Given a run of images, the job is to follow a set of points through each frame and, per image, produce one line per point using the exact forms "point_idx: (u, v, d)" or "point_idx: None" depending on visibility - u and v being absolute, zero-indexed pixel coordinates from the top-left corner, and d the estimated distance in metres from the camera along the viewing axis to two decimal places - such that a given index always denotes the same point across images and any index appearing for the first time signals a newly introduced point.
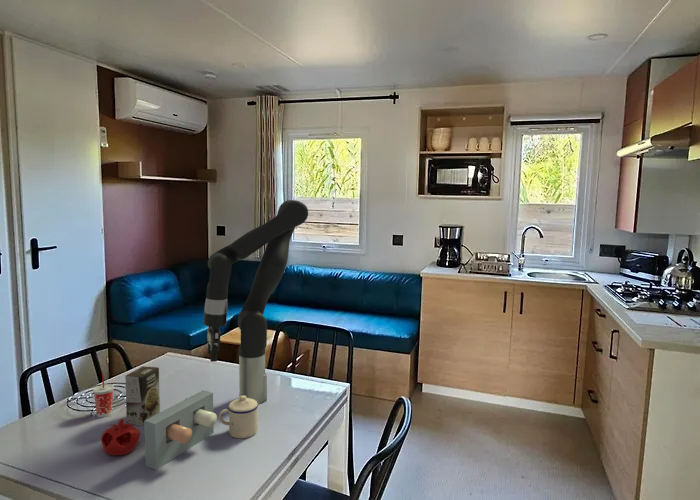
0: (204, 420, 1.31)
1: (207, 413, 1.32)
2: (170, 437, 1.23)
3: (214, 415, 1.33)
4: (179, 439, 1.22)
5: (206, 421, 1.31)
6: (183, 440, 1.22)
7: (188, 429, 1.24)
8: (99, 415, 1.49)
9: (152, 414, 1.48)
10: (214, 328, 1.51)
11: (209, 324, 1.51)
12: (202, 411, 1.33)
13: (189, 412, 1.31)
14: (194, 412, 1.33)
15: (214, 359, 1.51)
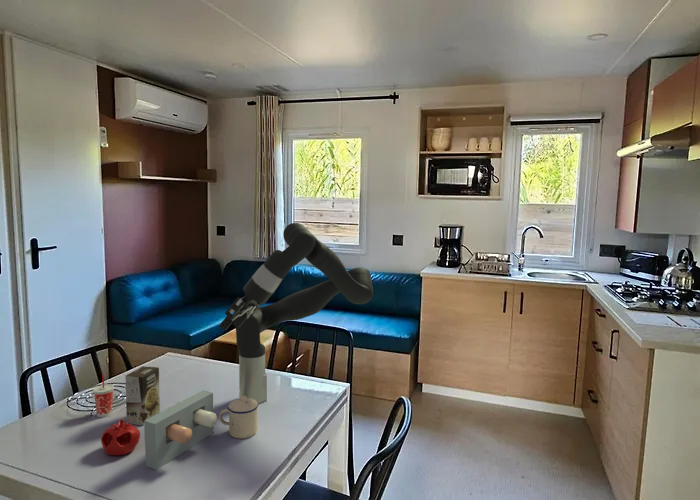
0: (204, 420, 1.31)
1: (207, 413, 1.32)
2: (170, 437, 1.23)
3: (214, 415, 1.33)
4: (179, 439, 1.22)
5: (206, 421, 1.31)
6: (183, 440, 1.22)
7: (188, 429, 1.24)
8: (99, 415, 1.49)
9: (152, 414, 1.48)
10: (246, 296, 1.25)
11: (245, 289, 1.26)
12: (202, 411, 1.33)
13: (189, 412, 1.31)
14: (194, 412, 1.33)
15: (222, 326, 1.24)
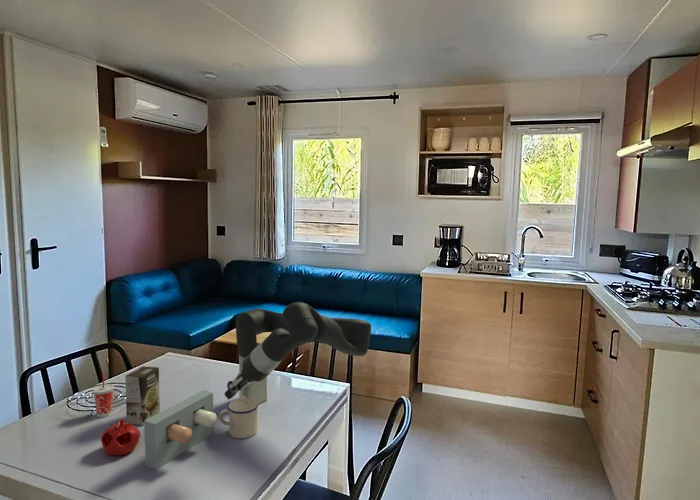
0: (204, 420, 1.31)
1: (207, 413, 1.32)
2: (170, 437, 1.23)
3: (214, 415, 1.33)
4: (179, 439, 1.22)
5: (206, 421, 1.31)
6: (183, 440, 1.22)
7: (188, 429, 1.24)
8: (99, 415, 1.49)
9: (152, 414, 1.48)
10: (242, 374, 1.18)
11: (243, 366, 1.19)
12: (202, 411, 1.33)
13: (189, 412, 1.31)
14: (194, 412, 1.33)
15: (226, 396, 1.25)
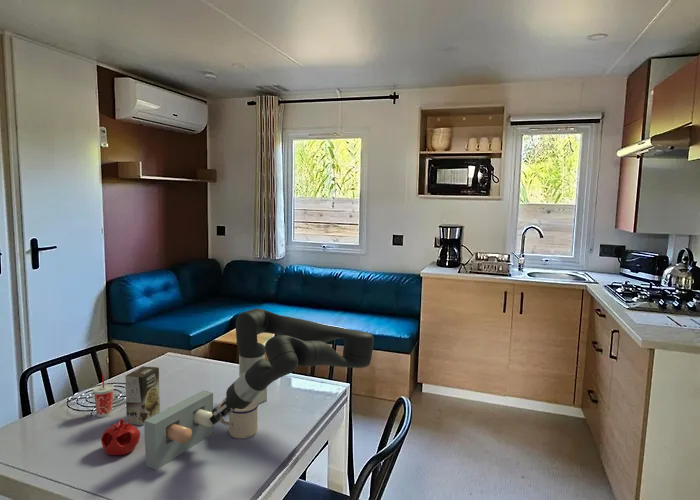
0: (204, 420, 1.31)
1: (207, 413, 1.32)
2: (170, 437, 1.23)
3: None
4: (179, 439, 1.22)
5: (206, 421, 1.31)
6: (183, 440, 1.22)
7: (188, 429, 1.24)
8: (99, 415, 1.49)
9: (152, 414, 1.48)
10: (226, 402, 1.24)
11: (227, 394, 1.25)
12: (202, 411, 1.33)
13: (189, 412, 1.31)
14: (194, 412, 1.33)
15: (211, 421, 1.30)
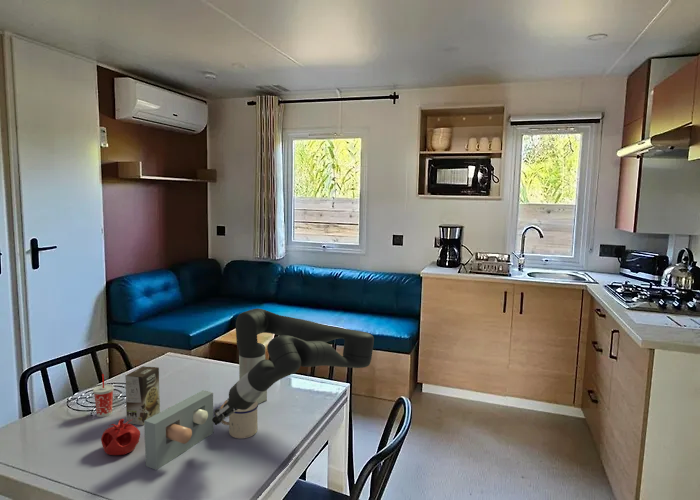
0: (195, 418, 1.32)
1: (198, 410, 1.34)
2: (170, 437, 1.23)
3: (205, 412, 1.34)
4: (179, 439, 1.22)
5: (197, 418, 1.32)
6: (183, 440, 1.22)
7: (188, 429, 1.24)
8: (99, 415, 1.49)
9: (152, 414, 1.48)
10: (229, 402, 1.24)
11: (229, 394, 1.24)
12: None
13: (189, 412, 1.31)
14: None
15: (214, 422, 1.30)
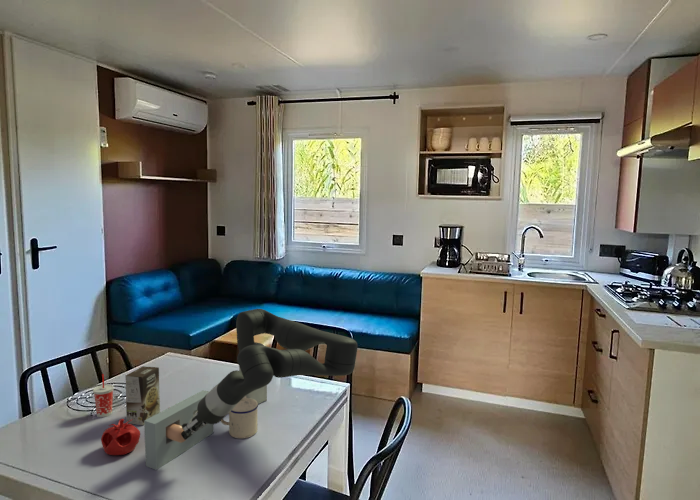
0: None
1: None
2: (167, 436, 1.24)
3: None
4: (176, 438, 1.22)
5: None
6: (180, 439, 1.23)
7: None
8: (99, 415, 1.49)
9: (152, 414, 1.48)
10: (197, 416, 1.16)
11: (198, 408, 1.16)
12: None
13: (189, 412, 1.31)
14: None
15: (182, 436, 1.22)
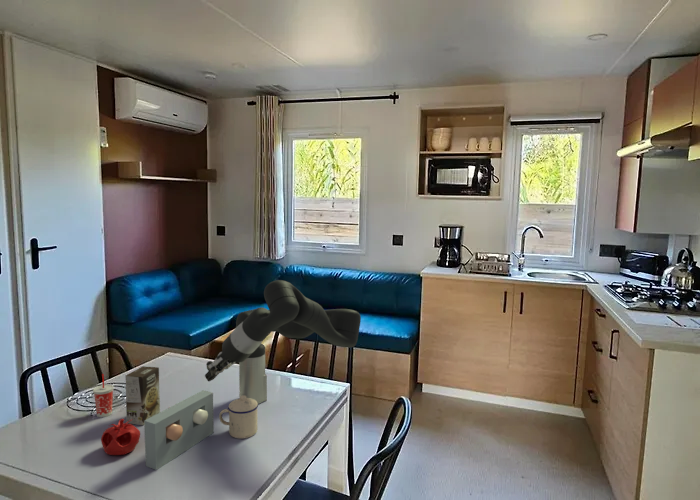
0: (195, 418, 1.32)
1: (198, 410, 1.34)
2: None
3: (205, 412, 1.34)
4: (170, 436, 1.23)
5: (197, 418, 1.32)
6: (174, 437, 1.24)
7: (179, 426, 1.25)
8: (99, 415, 1.49)
9: (152, 414, 1.48)
10: (222, 354, 1.15)
11: (223, 346, 1.15)
12: None
13: (189, 412, 1.31)
14: None
15: (206, 378, 1.21)
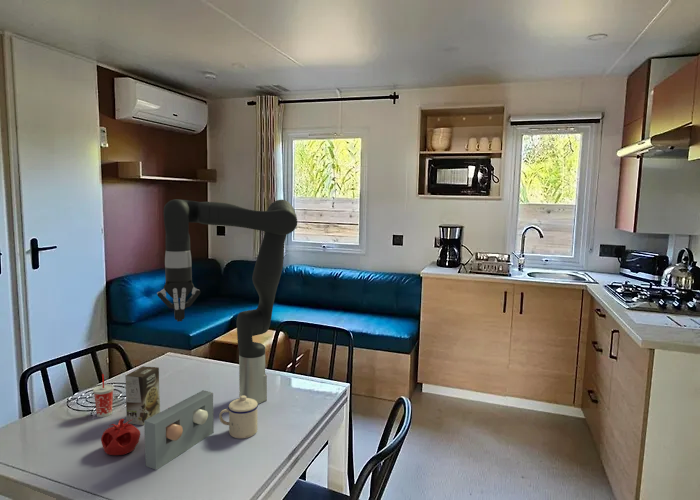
0: (195, 418, 1.32)
1: (198, 410, 1.34)
2: None
3: (205, 412, 1.34)
4: (170, 436, 1.23)
5: (197, 418, 1.32)
6: (174, 437, 1.24)
7: (179, 426, 1.25)
8: (99, 415, 1.49)
9: (152, 414, 1.48)
10: None
11: None
12: None
13: (189, 412, 1.31)
14: None
15: None
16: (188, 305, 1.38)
